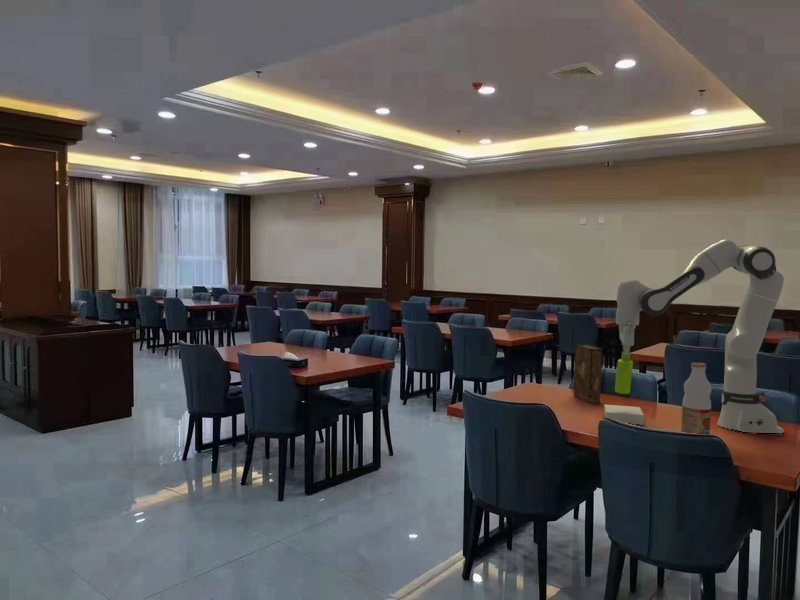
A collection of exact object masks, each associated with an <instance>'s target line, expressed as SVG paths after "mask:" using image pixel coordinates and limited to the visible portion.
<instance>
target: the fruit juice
mask: <svg viewBox="0 0 800 600" xmlns="http://www.w3.org/2000/svg"><path fill="white" fill-rule="evenodd" d="M690 368H691V372H690V375H689V377H688V378H687V379H686V380H685V382H684V383H683V391H684V395H683V398H682V403H681V406H682V407H681V427H680V433H681V432H686V433H696V434H707V435H710V434H711V418H712V417H711V415H712V400H711V398H710V397H711V394H712V384H711V383H710V381H709V380H708V378H707V375H706V369H707V364H706V363H703V362H695V361H694V362H691V364H690Z"/></svg>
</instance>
